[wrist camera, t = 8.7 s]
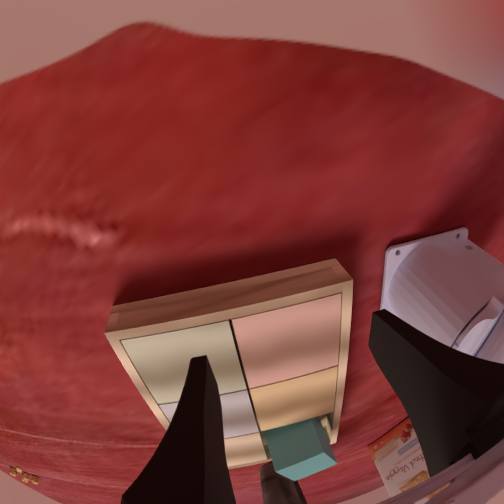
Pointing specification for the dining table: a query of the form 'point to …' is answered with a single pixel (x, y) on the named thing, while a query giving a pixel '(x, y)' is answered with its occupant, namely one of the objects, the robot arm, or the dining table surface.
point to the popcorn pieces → (24, 475)
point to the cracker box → (401, 460)
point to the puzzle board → (236, 307)
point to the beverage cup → (279, 487)
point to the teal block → (300, 449)
